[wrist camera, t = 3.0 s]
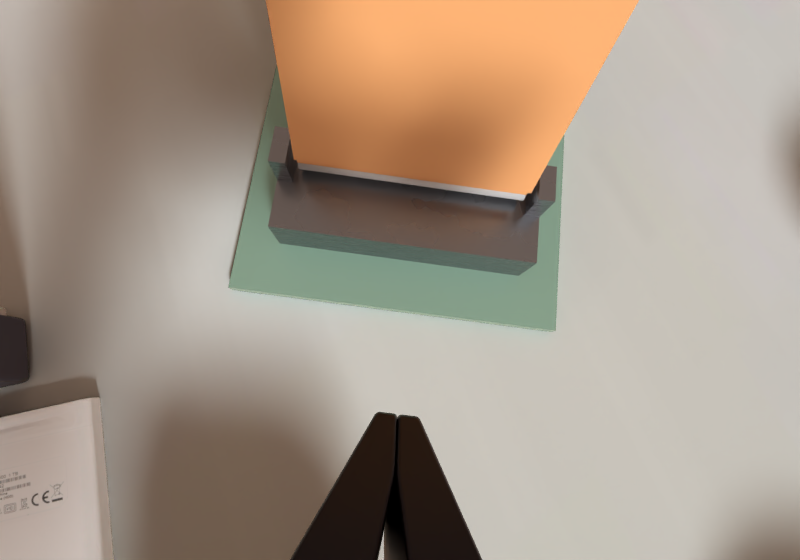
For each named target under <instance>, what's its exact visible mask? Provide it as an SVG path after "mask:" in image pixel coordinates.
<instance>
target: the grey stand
mask: <svg viewBox="0 0 800 560" xmlns="http://www.w3.org/2000/svg"><path fill="white" fill-rule="evenodd" d="M268 162H269V165H270V167H271V169H272V171H273V173H274V175H275V177H276V179H277V184H276V188H275V193H274V198H273V203H272V208H271V213H270V218H269V223H268V227H269V229H270V230H271V232H272V233H273V235H274V236H275V237H276V239H277V240H278V242H279V243H280V244H288V245H295V246H302V247H310V248H317V249H324V250H332V251H339V252H346V253H354V254H361V255H368V256H376V257H383V258H391V259H398V260H405V261H413V262H420V263H427V264H435V265H442V266H449V267H457V268H464V269H471V270H479V271H486V272H494V273H501V274H508V275H516V276H519V275H521V274H522V273H524V272H525V271H526V270H528V269H529V268H531V267H532V266H534V265H535V264H536V263H537V252H538V234H539V217H540V216H541V215H542V214H543V213H544V212H545V211H546V210H547V209H548V208H549V207H550V206H551V205H552V204H553V203H555V200H556V178H557V167H555V166H548V165H547V166H546V168H545V169H544V171H543V173H542V175H541V177H540V178H539V180H538V182H537V184H536V186H535V187H534V189H533V191H532V193H527V195H526V196H525V198H524V200H523V201H522V200H515V199H507V198H500V197H493V196H486V195H479V194H472V193H465V192H458V191H451V190H444V189H437V188H430V187H423V186H416V185H408V184H401V183H394V182H387V181H380V180H373V179H366V178H359V177H352V176H345V175H338V174H331V173H324V172H317V171H309V170H302V169H299V168H298V163H297V160H294V157H293V151H292V146H291V140H290V134H289V129H288V128H285V127H278V126H275V129H274V134H273V138H272V143H271V148H270V153H269V157H268Z"/></svg>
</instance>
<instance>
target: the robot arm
mask: <svg viewBox="0 0 800 560" xmlns="http://www.w3.org/2000/svg"><path fill="white" fill-rule="evenodd" d="M383 531H384V560H482V558H481V556H480V554H479V551H478V549H477V547H476V545H475V542H474V540H473V538H472V536H471V533H470V531H469V529H468V527H467V524H466V522H465V520H464V518H463V515H462V513H461V511H460V509H459V506H458V504H457V502H456V499H455V497H454V495H453V493H452V490H451V488H450V486H449V484H448V481H447V479H446V477H445V475H444V472H443V470H442V468H441V466H440V463H439V461H438V459H437V457H436V454H435V452H434V450H433V448H432V445H431V443H430V441H429V438H428V436H427V434H426V432H425V429H424V427H423V425H422V423H421V421H420V419H419V418H418V417H416V416H408V415H399V416H398V417H397V416H396V415H395V414H392V413H384V412H377V413H376V414H375V415H374V417H373V419H372V420H371V422H370V424H369V426H368V427H367V429H366V431H365V432H364V434H363V436H362V437H361V439H360V441H359V443H358V444H357V446H356V448H355V449H354V451H353V453H352V455H351V456H350V458H349V460H348V461H347V463H346V465H345V467H344V468H343V470H342V472H341V473H340V475H339V477H338V479H337V480H336V482H335V484H334V485H333V487H332V489H331V491H330V492H329V494H328V496H327V497H326V499H325V501H324V503H323V504H322V506H321V508H320V509H319V511H318V513H317V514H316V516H315V518H314V520H313V521H312V523H311V525H310V526H309V528H308V530H307V532H306V533H305V535H304V537H303V538H302V540H301V542H300V544H299V545H298V547H297V549H296V550H295V552H294V554H293V556H292V557H291V559H290V560H378V556H379V551H380V546H381V541H382V536H383Z"/></svg>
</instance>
